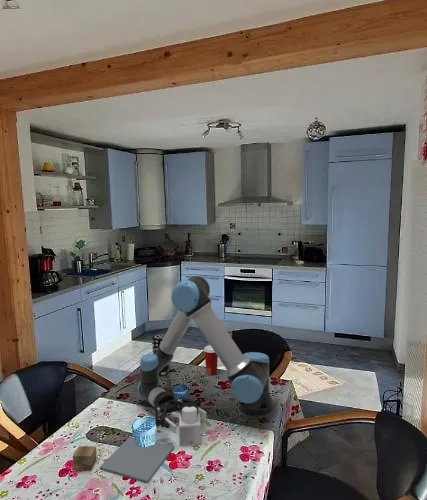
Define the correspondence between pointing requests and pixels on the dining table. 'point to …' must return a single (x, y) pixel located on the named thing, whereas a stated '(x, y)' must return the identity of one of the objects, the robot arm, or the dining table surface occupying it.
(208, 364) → the paper cup
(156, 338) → the white-spotted black cylinder
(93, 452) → the walnut block
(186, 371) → the dining table surface
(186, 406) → the container
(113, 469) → the slate plate
